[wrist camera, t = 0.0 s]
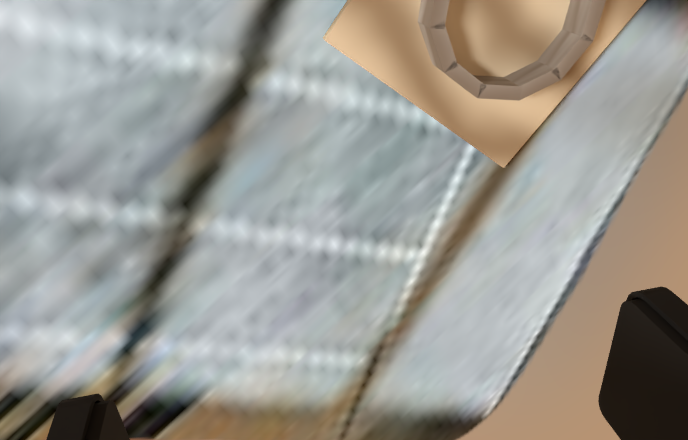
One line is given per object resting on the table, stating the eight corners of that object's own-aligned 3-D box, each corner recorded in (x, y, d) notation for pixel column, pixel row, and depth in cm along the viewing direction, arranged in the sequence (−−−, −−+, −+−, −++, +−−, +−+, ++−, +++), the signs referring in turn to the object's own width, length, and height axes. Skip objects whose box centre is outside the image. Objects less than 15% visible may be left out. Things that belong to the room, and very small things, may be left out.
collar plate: (497, -227, 32) (524, -241, 29) (664, -32, 39) (698, -28, 37) (322, 37, 37) (331, 48, 34) (499, 164, 45) (517, 181, 42)
